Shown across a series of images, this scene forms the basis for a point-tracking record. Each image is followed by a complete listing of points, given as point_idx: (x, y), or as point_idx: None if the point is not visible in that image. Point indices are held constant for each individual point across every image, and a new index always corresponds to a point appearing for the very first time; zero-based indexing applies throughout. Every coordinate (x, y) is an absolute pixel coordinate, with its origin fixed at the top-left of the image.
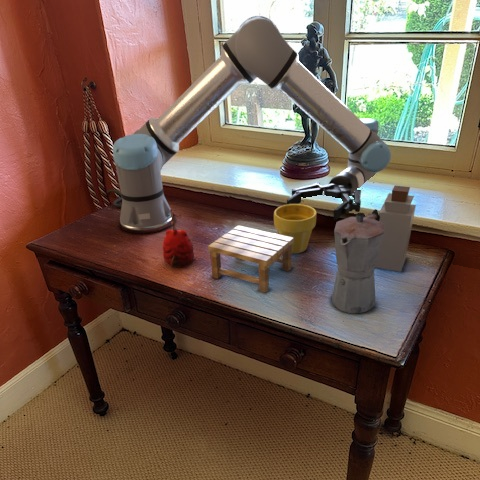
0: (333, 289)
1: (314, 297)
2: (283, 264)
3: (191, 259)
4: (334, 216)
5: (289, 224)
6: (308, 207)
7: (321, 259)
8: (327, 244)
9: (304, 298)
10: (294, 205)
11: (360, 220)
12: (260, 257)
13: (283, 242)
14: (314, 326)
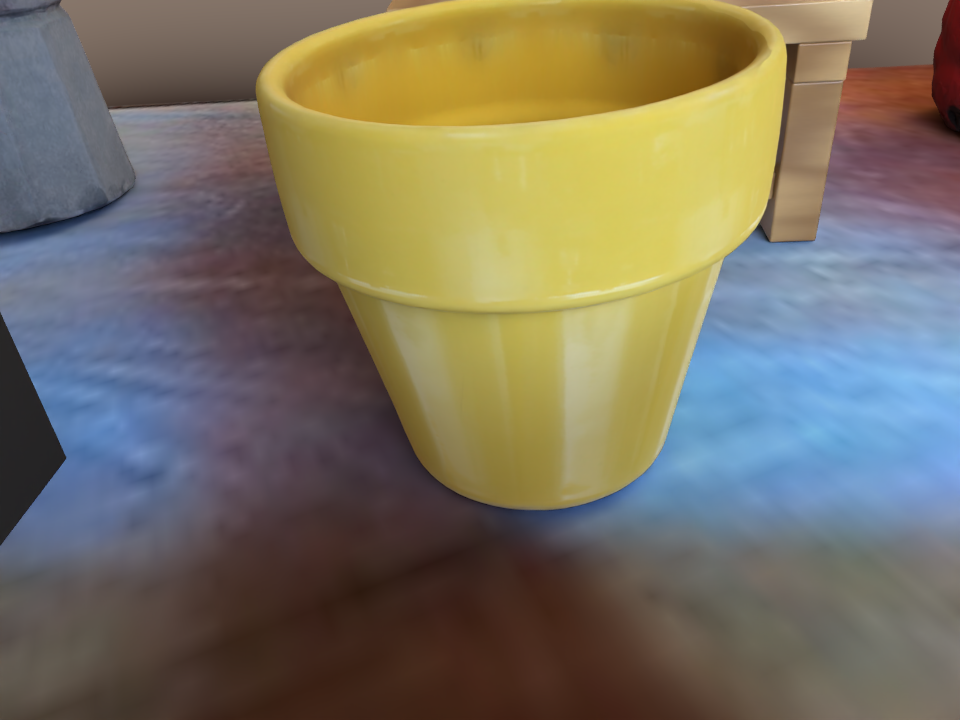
0: (115, 128)
1: (219, 175)
2: None
3: (937, 94)
4: (29, 411)
5: (478, 38)
6: (420, 134)
7: (238, 381)
8: (219, 604)
9: (263, 162)
10: (655, 113)
11: None
12: None
13: (414, 3)
14: (195, 113)
